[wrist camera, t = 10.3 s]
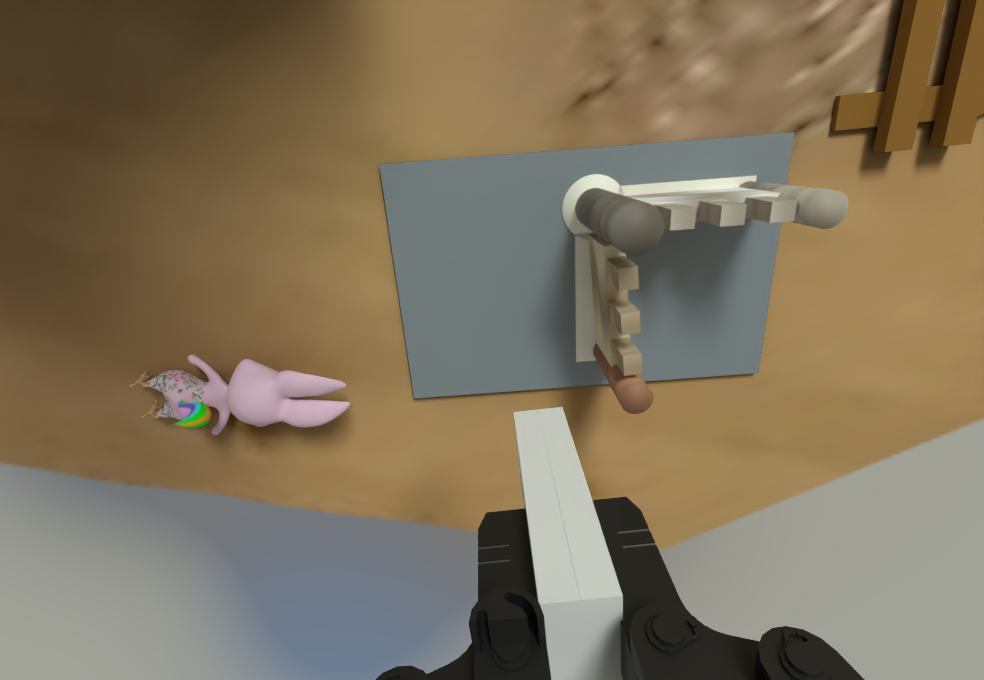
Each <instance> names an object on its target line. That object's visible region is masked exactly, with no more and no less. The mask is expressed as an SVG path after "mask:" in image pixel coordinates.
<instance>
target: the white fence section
mask: <svg viewBox="0 0 984 680" xmlns="http://www.w3.org/2000/svg"><path fill="white" fill-rule="evenodd" d="M848 206H849V203H848V199H847V197H846V195H845V194H844V193H842V192H841V191H838V190H829V189H820V188H810V187H801V186H792V185H782V184H773V183H764V182H755V181H747V182H744V183H743V184H741V185H740V186H739V187H733V188H720V189H706V190H693V191H680V192H667V193H654V194H641V195H628V196H623V195H620V194H617V193H613V192H610V191H607V190H604V189H600V188H591V189H588V190H586V191H585V192H583V193H582V194H581V195H580V197H579V198H578V200H577V202H576V206H575V213H576V216H577V218H578V220H579V221H580V222H581V223H582V224H583V225H584V226H586V227H587V228H589V229H590V230H591V231H593V232H594V233H596V234H597V235H598V236H600V237H601V238H603V239H604V240H605V241H607V242H608V243H610V244H611V245H612V246H614V247H615V248H617V249H618V250H619V251H621V252H623V253H624V254H627V255H631V256H639V255H643V254H646V253H648V252H650V251H651V250H652V249H654V248H655V247H656V246H657V245H658V243H659V242H660V240H661V238H662V236H663V233H664V228H665V229H668V230H670V231H671V230H684V229H695V222H706V223H709V224H713V225H716V226H719V227H723V226H736V225H744V223H745V218H751V219H755V220H760V221H764V222H768V223H776V222H789V221H790V222H794V223H798V224H803V225H807V226H812V227H816V228H821V229H828V228H832V227H834V226H836V225H837V224H839V223H840V222H841V221H842V220H843V219H844V217H845V215H846V214H847V211H848Z"/></svg>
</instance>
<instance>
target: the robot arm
mask: <svg viewBox="0 0 984 680" xmlns="http://www.w3.org/2000/svg"><path fill="white" fill-rule="evenodd" d="M514 421H515V430H516V440H517V449H518V459H519V468H520V478H521V487H522V495H523V503H524V509H517V510H507V511H498V512H488V513H486V515H485V517H484V519H483V520H482V522H481V524H480V526H479V528H478V563H479V565H478V602H477V603H476V605H475V606H474V607H473V609H472V611H471V616H470V620H469V627H470V633H471V638H472V644H471V645H470V646H469V648H468V649H467V651H466V652H464V653H463V655H461V656H460V657H459V658H458V659H456V660H455V661H453V662H451V663H450V664H448V665H446V666H444V667H441V668H439V669H437V670H435V671H433V672H431V673H428V674H426V673H425V672H424V671H423V670H420V669H418V668H415V667H413V666H399V667H395V668H393V669H391V670H388V671H386V672H384V673H383V674H381V675H380V676H379V677H378V678H377V679H376V680H864V679H863V678H862V677H861V676H860V675H859V674H858V673H857V672H856V671H855V670H854V669H853V668H852V666H851V665H850V664H849V663H848V662H847V661H846V660H845V659H844V658H843V657H842V656H841V655H840V654H839V653H838V652H837V651H836V650H834V649H833V648H832V647H831V646H830V645H828V644H827V643H826V642H825V641H823V640H822V639H821V638H819V637H817V636H815V635H813V634H811V633H809V632H807V631H805V630H803V629H797V628H792V627H788V626H784V627H777V628H772V629H770V630H769V631H767V632H766V633H765V634H763V635H762V637H761V640H760V642H759V641H754V640H750V639H745V638H740V637H735V636H730V635H726V634H723V633H720V632H717V631H714V630H712V629H710V628H709V627H707V626H705V625H703V624H702V623H700V622H699V621H698V620H697V619H696V618H695V617H694V616H692V615H691V614H690V613H689V612H688V611H687V609H686V608H685V607H684V605H683V603H682V601H681V600H680V598H679V596H678V593H677V591H676V589H675V586H674V584H673V582H672V580H671V577H670V575H669V573H668V571H667V568H666V566H665V564H664V561H663V559H662V557H661V555H660V552H659V550H658V548H657V546H656V545H655V541H654V539H653V537H652V534H651V532H650V531H649V528H648V525H647V523H646V521H645V519H644V516H643V514H642V512H641V510H640V509H639V508H638V507H637V506H635V505H634V504H633V503H632V502H631V501H630V500H629V499H628V498H627V497H619V498H610V499H600V500H592V498H591V495H590V492H589V489H588V485H587V482H586V479H585V476H584V473H583V470H582V467H581V464H580V460H579V457H578V454H577V451H576V448H575V445H574V442H573V439H572V435H571V432H570V429H569V426H568V423H567V420H566V417H565V414H564V410H563V407H558V408H548V409H539V410H530V411H521V412H514Z"/></svg>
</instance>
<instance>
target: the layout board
mask: <svg viewBox="0 0 984 680" xmlns="http://www.w3.org/2000/svg"><path fill="white" fill-rule="evenodd" d="M793 137H794V133H780V134H767V135H755V136H742V137H729V138H716V139H703V140H690V141H677V142H664V143H651V144H638V145H625V146H612V147H599V148H586V149H573V150H560V151H547V152H534V153H521V154H508V155H496V156H483V157H470V158H457V159H444V160H431V161H418V162H405V163H392V164H380V165H379V167H380V173H381V180H382V187H383V194H384V200H385V207H386V214H387V220H388V227H389V234H390V240H391V247H392V254H393V260H394V267H395V274H396V281H397V287H398V294H399V301H400V307H401V314H402V321H403V327H404V334H405V341H406V347H407V354H408V361H409V367H410V374H411V381H412V388H413V394H414V398H428V397H441V396H455V395H468V394H482V393H495V392H509V391H522V390H536V389H549V388H563V387H576V386H590V385H604V384H609V382H608V381H607V379H606V377H605V375H604V373H603V372H602V370H601V368H600V366H599V364H598V363H597V361H596V359H595V357H594V355H593V348H594V346H595V344H596V343H597V341H596V328H595V315H594V302H593V289H592V276H591V263H590V250H589V237H588V235H590V234H596V233H594V232H593V231H591V230H590V229H589V228H587V227H586V226H584V225H583V224H582V223H581V222H580V221H579V220H578V218H577V216H576V213H575V206H576V202H577V200H578V198H579V197H580V195H581V194H582V193H583V192H585V191H586V190H588V189H591V188H600V189H604V190H607V191H610V192H613V193H617V194H620V195H623V196H628V195H641V194H654V193H667V192H680V191H693V190H706V189H720V188H733V187H739V186H740V185H741V184H743V183H744V182H747V181H755V182H764V183H773V184H782V185H786V184H787V178H788V171H789V164H790V158H791V151H792V144H793ZM780 225H781V222H776V223H768V222H764V221H760V220H755V219H751V218H745V223H744V225H736V226H723V227H719V226H716V225H713V224H709V223H706V222H695V229H684V230H671V231H670V230H668V229H665V228H664V233H663V236H662V238H661V240H660V242H659V243H658V245H657V246H656V247H655V248H654V249H652V250H651V251H650V252H648V253H646V254H643V255H639V256H631V255H627V254H626V258H628V259H629V260H631V261H632V262H633V263H635V264H636V265H637V266H638V281H639V289H633V290H628V300H629V301H630V302H631V303H632V304H633V305H634V306H635V307H636V308H637V309H638V310H639V311H640V331H641V332H640V333H634V334H630V340H631V341H632V343H633V344H634V345H635V346H636V348H637V349H638V350H639V351H640V353H641V356H642V374H639V375H640V376H641V377H642V379H643V380H644V381H658V380H671V379H685V378H698V377H712V376H725V375H739V374H752V373H759V366H760V359H761V352H762V346H763V339H764V332H765V326H766V319H767V312H768V305H769V299H770V292H771V285H772V278H773V272H774V265H775V258H776V252H777V245H778V238H779V231H780Z"/></svg>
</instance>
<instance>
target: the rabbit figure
mask: <svg viewBox="0 0 984 680" xmlns="http://www.w3.org/2000/svg"><path fill="white" fill-rule="evenodd" d="M188 361H189V362H190V363H192V364H194V365H196V366H198V367H199V368H200V369H202V370H203V371H204V373H205V374H206V375H207V376H208V378H209V382H204V381H202V380H201V379H199V378H197V377H195V376H194V375H192V374H190V373H188V372H186V371H183V370H169V371H166V372H163V373H162V374H160V375H158V376H156V377H154V378H153V379H151V380H148V379H149V378H150V376H151V375H152V374H150V375H149V376H148V375H147V376H146V373H147V371H144V372H145V373H144V374H142V375H141V377H140V378H139V379H138V380H136V381H135V384H132V385H130V386H134V385H137V384H140V385H142V387H151V388H153V389H156V390H158V391H160V392H162V393H163V395H164V397H165V398H166V400H167V402H166V403H165V405H164V406H163V405H161V406H158V405H157V401H156V400H155V404H154V405H153V407H152V408H151V409H150V410H149V411H147V414H146V415H143V416H142V417H145V416H147V415H150V414H151V415H152V416H153V417H154V418H155V419H158V418H162V417H168V418H175V419H178V420H181V421H179V422H177V423H175V425H177V426H180V427H184V428H198V427H203V426H205V425H207V424H208V423H209V421H210V419H211V411H210V408H209V406H211V407H215V408H216V409H217V410H218V411H219V414H220V416H219V421H218V423H217V425H216V426H214V427H213V428H212V430H211V433H212V434H213V435H218V434H219V433H220V432H221V431H222V429H223V428H224V427H225V425H226V423H227V421H228V418H229V416H230V412H231V413H232V414H233V415H234V416H235V417H236V418H237V419H239V420H240V421H242V422H244V423H248V424H252V425H255V426H258V427H264V426H267V425H268V424H272V423H276V422H286V423H288V424H290V425H292V426H296V427H314V426H319V425H323V424H325V423H328V422H330V421H331V420H333V419H335V418H336V417H338V416H339V415H340V414H342V413H343V412H344V411H345V410H346V409H347V408H348V407H349V406H350V403H349V402H339V401H328V400H302V399H292V398H291V397H307V396H319V395H324V394H327V393H330V392H333V391H336V390H339V389H343V388H345V387H346V384H345V383H344V382H341V381H339V380H335V379H330V378H325V377H320V376H315V375H310V374H304V373H300V372H296V371H289V370H284V371H281V372H278V371H277V370H275V369H272V368H270V367H267V366H265V365H263V364H260V363H258V362H255V361H253V360H250V359H244V360H242V361H241V362H240V363H239V364H238V366H237V367H236V369H235V371H234V373H233V375H232V378H231V380H230V383H229V385H228V384H227V383H226V382H225V381H224V380H223V379H222V378H221V377H220V376H219V375H218V374H217V373H216V372H215V371H214V370H213V369H212V368H211V367H210V366H209V365H208V364H206V363H205V362H204V361H202V360H201V359H200V358H198V357H197V356H195V355H189V356H188ZM162 406H163V407H162ZM160 407H162V408H161V409H160ZM159 409H160V410H159Z"/></svg>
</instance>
